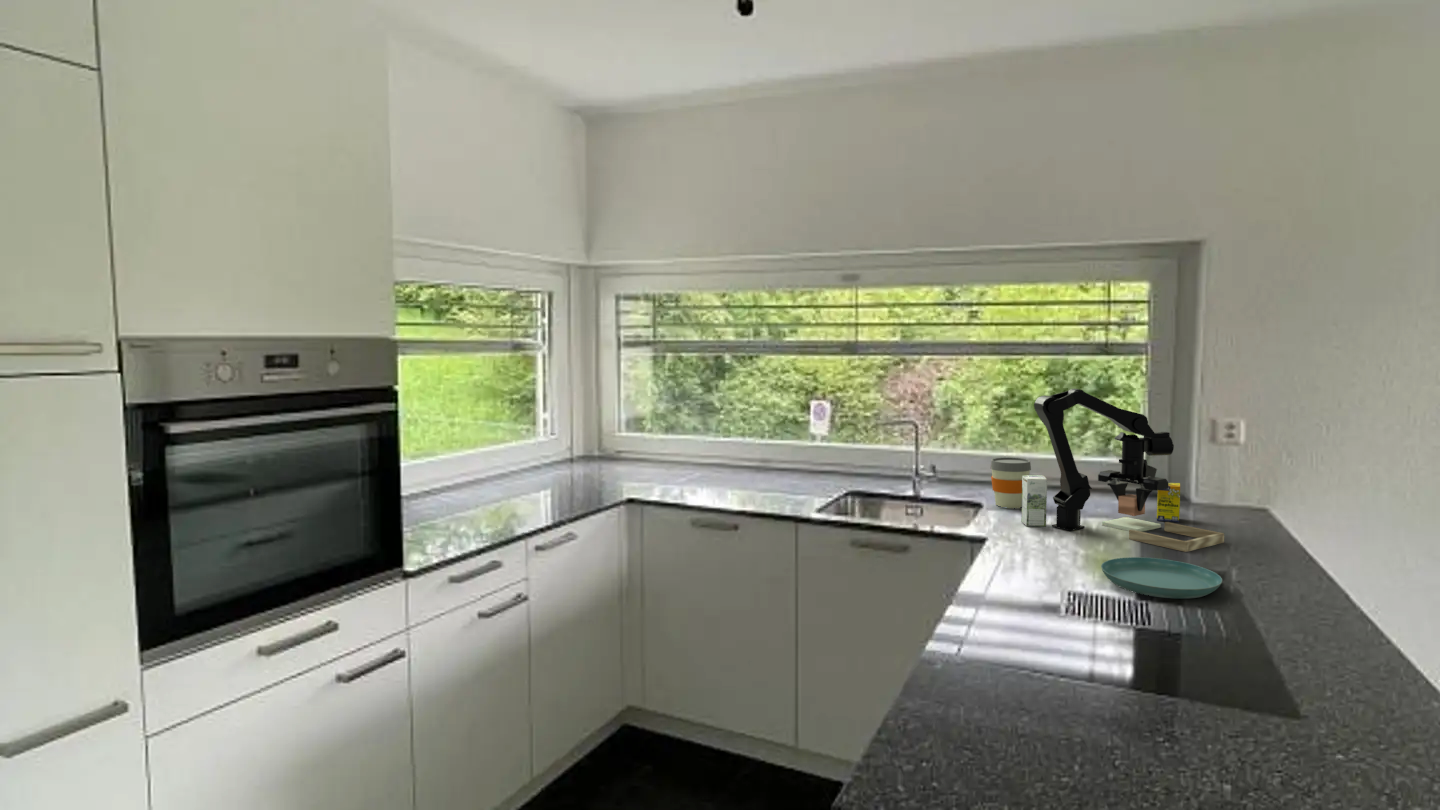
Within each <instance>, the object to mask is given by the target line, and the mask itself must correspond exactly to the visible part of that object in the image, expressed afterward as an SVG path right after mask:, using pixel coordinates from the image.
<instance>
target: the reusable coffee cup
mask: <svg viewBox="0 0 1440 810" xmlns="http://www.w3.org/2000/svg"><path fill="white" fill-rule="evenodd" d="M1031 465H1032V464H1031V460H1030V459H1027V458H1021V457H1010V456H1009V457H995V458H991V460H990V469H991V474H992V475H991V479H990V480H991V487H992V492H993V493H994V499H995V500H994V501H995V506H996V505H998V506H1001V507H1000V508H1002V507H1007V508H1006V509H1014V508H1015V509H1021V508H1020V507H1022V476H1023V475H1030V472H1031V470H1032V466H1031ZM998 506H997V507H998Z"/></svg>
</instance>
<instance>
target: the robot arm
mask: <svg viewBox="0 0 1440 810" xmlns="http://www.w3.org/2000/svg"><path fill="white" fill-rule="evenodd" d="M1076 405H1079V406H1081V407H1084V408H1085V409H1087V410H1090V411H1091V412H1094V413H1096V414H1098V415H1100V416H1102V417H1105V418H1107V419H1108V420H1110V421H1111V422H1112V423H1113V424H1114V425H1115V426H1117V427H1118V428H1120V429H1121V430H1122V431H1125V432H1122V431H1121V432H1119V433H1118V435H1116V436H1114V438H1113V439H1114V440H1115V441H1119V442H1122V444H1121V458H1119V459H1118V464H1121V471H1118V470H1112V469H1107V470H1100V472H1099V473H1098V474H1097V481H1098V482H1102V483H1107V486H1109V487H1110V488H1111V491H1112V492H1113V494H1114V495H1115V497H1116V499H1117V501H1118V499H1119V496H1121V495H1126V492H1127V491H1126V490H1127V487H1128V485H1129V483H1130V484H1136V485H1140V487H1137V488H1135V495H1136V497H1137V507H1138V511H1142V509H1143V506H1144V504H1145V505H1146V502H1147V499H1148V497H1149V496H1150V494H1151V493H1152V492H1153V491H1158V490H1162V489H1168V483H1169V481H1168V479H1167V478H1164V477H1157V476H1156V474H1157V470H1158V469H1157V468H1156V467H1155V466H1151V465H1148V461H1147V460H1148V459H1145V453H1146V455H1147V456H1148V457H1151V456H1152V457H1154V456H1171V455H1172V454H1173V452H1174V448H1175V445H1174V443H1173V440H1172V437H1170V436H1171V433H1170V432H1168V431H1160V432H1154V430H1153V429H1152V427H1151V425H1149V420H1148V417H1147V416H1146V415H1144V414H1142V413H1139V412H1135V411H1131V410H1127V409H1123V408H1119V407H1117V406H1114V405H1113V404H1111V403H1109V402H1106V401H1104V400H1103V399H1100V398H1098V397H1096V396H1093V395H1091V394H1090V393H1087V392H1086V391H1085V390H1083V389H1080V388H1071V389H1069V390H1065V391H1062V392H1058V393H1055V394H1051V395H1041V396H1039V397H1037V398H1036V400H1035V402H1034V404H1033V407H1034V408H1033V409H1034V411H1035V413H1036V415H1037V417H1038V419H1039V420H1040V421H1041V422H1042V424H1043V425H1044V426H1045V428H1046V431H1047V434H1048V437H1049V439H1050V442H1051V446H1052V449H1053V452H1054V456H1055V459H1056V461H1057V464H1058V468H1059V470H1060V471H1059V472H1060V480H1059V482H1060V483H1059V485H1060V490H1059V491H1058V492H1056V494H1054V496H1053V497H1052V499H1053V502H1054V504H1056V505H1057V506H1056V523H1054V524H1051V527H1052V528H1056V529H1060V530H1061V529H1062V530H1065V531H1069V532H1070V531H1075V530H1080V529H1085V526H1084V525H1081V510H1083V509H1084V507H1085V504H1086V502H1087V501H1088V500H1089V498H1090V497H1091V490H1092V486H1091V485H1090V483H1089V478H1088V475H1086V474H1083V473H1081V472H1080V471H1078V468H1077V465H1076V462H1075V458H1074V455H1073V452H1072V449H1071V445H1070V443H1069V440H1068V439H1069V438H1068V436H1067V434H1066V431H1065V427H1064V418H1065V414H1064V413H1065V412H1064V411H1066V410H1069V409H1071V408H1073V407H1074V406H1076ZM1126 432H1129V433H1133V434H1127V433H1126ZM1139 436H1141V437H1139Z"/></svg>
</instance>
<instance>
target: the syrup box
mask: <svg viewBox="0 0 1440 810" xmlns="http://www.w3.org/2000/svg"><path fill="white" fill-rule="evenodd" d="M1047 497H1048V479H1047V478H1046V476H1044V475H1041V474H1040V475H1039V474H1038V475H1037V474H1035V475H1033V474H1032V475H1030V474H1029V475H1023V476H1022V508H1021V523H1022V522H1023V523H1024V524H1025V527H1046V526H1047V501H1048V500H1047V499H1048V498H1047ZM1023 523H1022V524H1023Z"/></svg>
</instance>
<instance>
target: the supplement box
mask: <svg viewBox="0 0 1440 810" xmlns="http://www.w3.org/2000/svg"><path fill="white" fill-rule="evenodd" d="M1156 499H1157V501H1156V502H1157V503H1156V505H1157V506H1156V521H1157V522H1170V523H1176V524H1180V510H1181V482H1168V489H1162V490H1157V498H1156Z"/></svg>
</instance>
